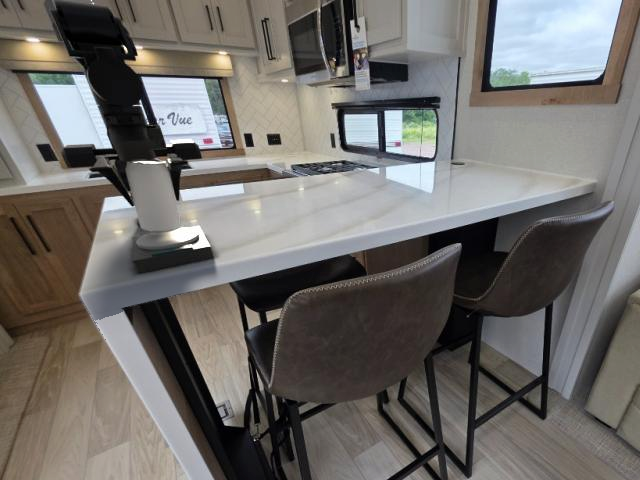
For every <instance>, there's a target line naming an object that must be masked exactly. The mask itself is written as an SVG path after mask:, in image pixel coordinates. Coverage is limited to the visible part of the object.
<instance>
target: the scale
mask: <svg viewBox="0 0 640 480" xmlns="http://www.w3.org/2000/svg"><path fill="white" fill-rule="evenodd" d="M131 241H132V242H131V243H132V262H133V264H134V267H135V268H136V269H135V270H136V271H137V273H138V274H141V273H146V272H151V271H157V270H161V269H166V268H171V267H176V266H181V265H184V264H189V263H190V264H191V263H194V262H199V261H205V260H209V259H213V258H215V256H214V253H213V249H212V246H211V245H210V243H209V241H208V239H207V237H206V236H205V234H204V232H203V230H202V229H201V227H200V225H197V226H191V227H180V228H179V229H177V230H174V231H170V232H147V233H146V234H142V235H136V236H132V237H131Z"/></svg>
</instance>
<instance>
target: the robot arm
mask: <svg viewBox="0 0 640 480" xmlns="http://www.w3.org/2000/svg"><path fill="white" fill-rule="evenodd" d="M42 5H43V7H44V9H45V12H46V14H47V18H48V19H49V22H50V24H51V27H52V29H53V31H54V34H55V37H56V39H57V41H58V43H59V42H61V43H63V45H64V47H65V50H66V52H67V55H68V57H69V58H72V59H73V60H74V61H75V62H76V63H77V64H78V65H79V66H80V67H81V68H82V72H83V74H84V77H85V79H86V82H87V84H88V87H89V89H90V92H91V94H92V96H93V99H94V102H95V104H96V106H97V109H98V111H99V114H100V117H101V119H102V121H103V125H104V127H105V129H106V135H107V138H108V141H109V143H110V146H111V147H102V148H97V147H96V145H95V144H94V143H84V144H83V143H82V144H80V143H79V144H66V145H65V146H64V147H63V148H62V149H61V151H60V155H61V157H62V159H63V161H64V163H65V165H66V167H67V169H76V168H77V169H78V168H88V170H89V171H90V173H99V174H100V175H102V177H104V178H105V179H106V180H107V181H108V182H110V184H111V185H112V186H114V188H115V189H116V190H117V191H118V192H119V194H121V196H122V197H123V198H124V200H125V201H126V202H127V203H128V204H129V205H130V206H131V207H135V205H134V201H133V197H132V194H131V190H130V186H129V182H128V178H127V174H126V166H127V162H129V161H132V160H140V159H145V160H153V159H156V158H164V157H165V158H166V157H167V159H166V161H167V167H168V169H169V170H170V173H171V178H172V183H173V188H174V193H175V197H176V201H177V202H179V201H180V189H181V188H180V187H181V184H180V183H181V175H182V170H183V168H184V166H188V165H189V161H191V160H202V159H203V156H202V153H201V149H200V146H199V145H198V144H197V143H196V142H195V141H193V140H192V139H176V140H174V139H173V140H170V144H167V143H166V140H165V136H164V134H163V130H162V128H161V126H160V124H148V121H147V118H146V116H145V113H144V110H143V107H142V105H141V102H140V101H141V100H142V98H143V94H144V86H143V83H142V80H141V79H140V77H139V75H138V74H137V72H136V71H135V70H134V69H133V68H131V66H129V65H128V64H127V63H126V62H136V61H137V57H138V56H139V55H138V50H137V48H136V45H135V43H134V40H133V38H132V36H131V34H130V32H129V30H128V28H127V26H126V25H124V24H123V22H122V19H121V18H120V17H119V16H114V12H113V11H112V9H111V8H110V7H109V6H108V5H105V4H96V3H95V2H93V0H44V2H43V4H42ZM111 161H113V162H111ZM137 222H138V223H137V224H138V225H140V223H139V220H138V219H137Z"/></svg>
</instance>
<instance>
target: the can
mask: <svg viewBox="0 0 640 480" xmlns="http://www.w3.org/2000/svg"><path fill="white" fill-rule="evenodd" d="M126 174H127V178H128V182H129V186H130V190H131V194H132V197H133V201H134V205H135V206H134V208H135V213H136V216H137V221H138V220H139V223H140V224H139V223H138V224H139V227H140V229H142V230H143V231H145V232H147V233H151V232H170V231H174V230H177V229H179V228H181V226H182V221H181V217H180V211H179V207H178V201H177V200H176V197H175V193H174V188H173V183H172V178H171V173H170V170H169V167H168V165H167V164H166V161H165V160H162V159H156V158H155V159H153V160H145V159H140V160H132V161H129V162H127V166H126Z"/></svg>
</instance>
